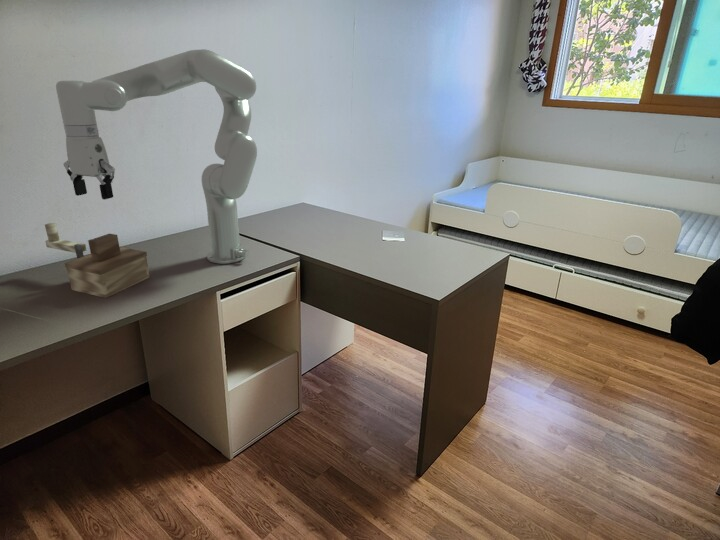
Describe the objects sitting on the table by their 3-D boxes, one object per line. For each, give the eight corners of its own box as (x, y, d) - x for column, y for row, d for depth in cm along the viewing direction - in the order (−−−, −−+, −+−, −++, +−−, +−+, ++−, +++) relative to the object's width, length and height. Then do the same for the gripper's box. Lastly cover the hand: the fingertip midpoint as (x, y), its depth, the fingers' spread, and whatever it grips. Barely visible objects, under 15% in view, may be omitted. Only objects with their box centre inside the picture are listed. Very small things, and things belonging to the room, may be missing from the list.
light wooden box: (149, 277, 143) (143, 241, 138) (106, 298, 129) (98, 258, 124) (112, 269, 148) (105, 234, 143) (66, 288, 134) (57, 250, 129)
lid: (147, 258, 141) (143, 232, 137) (101, 278, 126) (95, 249, 123) (114, 252, 145) (109, 226, 142) (66, 270, 131) (59, 242, 128)
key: (86, 250, 139) (81, 227, 136) (78, 253, 137) (73, 230, 134) (55, 244, 143) (50, 222, 141) (46, 247, 141) (41, 224, 138)
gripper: (118, 132, 122) (129, 197, 128) (70, 128, 128) (83, 190, 134) (94, 135, 115) (106, 203, 122) (44, 131, 121) (59, 196, 128)
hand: (94, 196), depth 128 cm, fingers open, 9 cm apart
